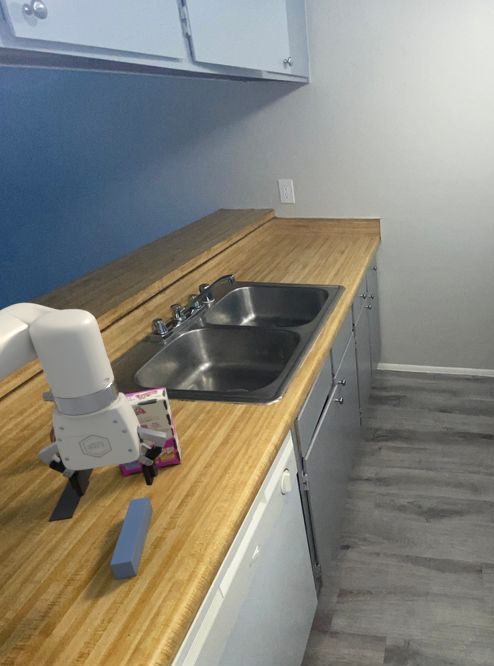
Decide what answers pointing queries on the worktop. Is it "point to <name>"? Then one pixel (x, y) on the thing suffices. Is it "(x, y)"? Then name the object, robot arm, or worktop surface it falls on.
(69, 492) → the strip
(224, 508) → the worktop surface
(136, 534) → the stick
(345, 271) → the worktop surface
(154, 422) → the candy bar box
